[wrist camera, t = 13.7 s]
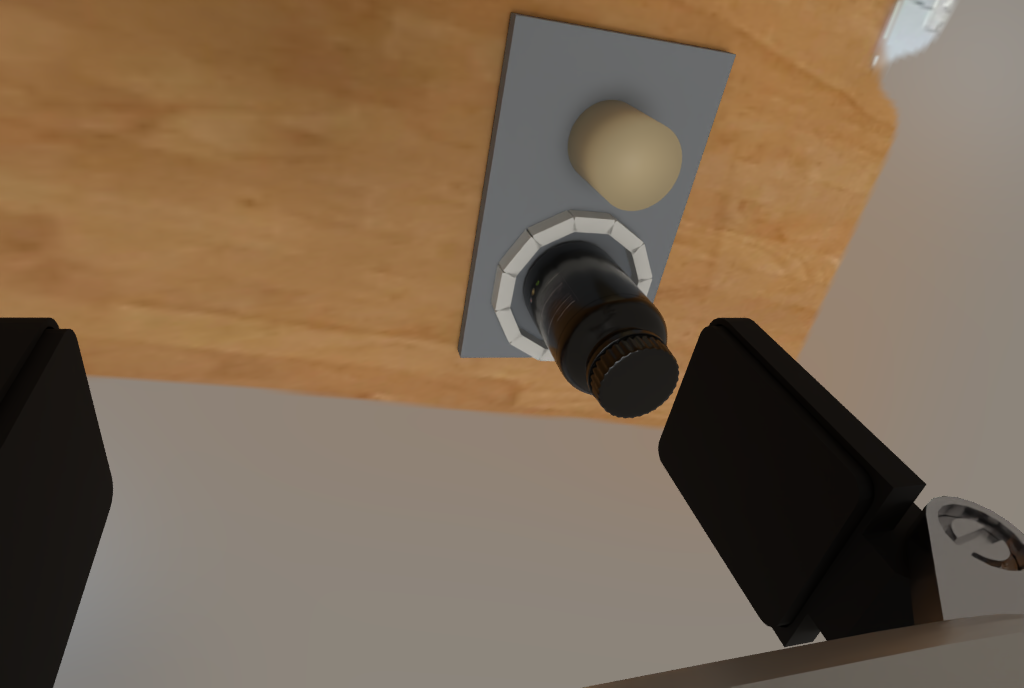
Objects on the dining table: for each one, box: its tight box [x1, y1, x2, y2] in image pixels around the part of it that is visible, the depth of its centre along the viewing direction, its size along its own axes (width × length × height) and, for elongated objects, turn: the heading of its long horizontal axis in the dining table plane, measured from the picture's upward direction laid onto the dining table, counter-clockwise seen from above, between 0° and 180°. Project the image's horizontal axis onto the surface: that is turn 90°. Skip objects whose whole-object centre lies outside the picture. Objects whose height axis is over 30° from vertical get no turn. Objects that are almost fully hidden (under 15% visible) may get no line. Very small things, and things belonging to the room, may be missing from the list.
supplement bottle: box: [524, 242, 679, 418], centre depth 39 cm, size 7×7×12 cm
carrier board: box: [458, 13, 736, 361], centre depth 40 cm, size 22×14×6 cm, turn 170°
